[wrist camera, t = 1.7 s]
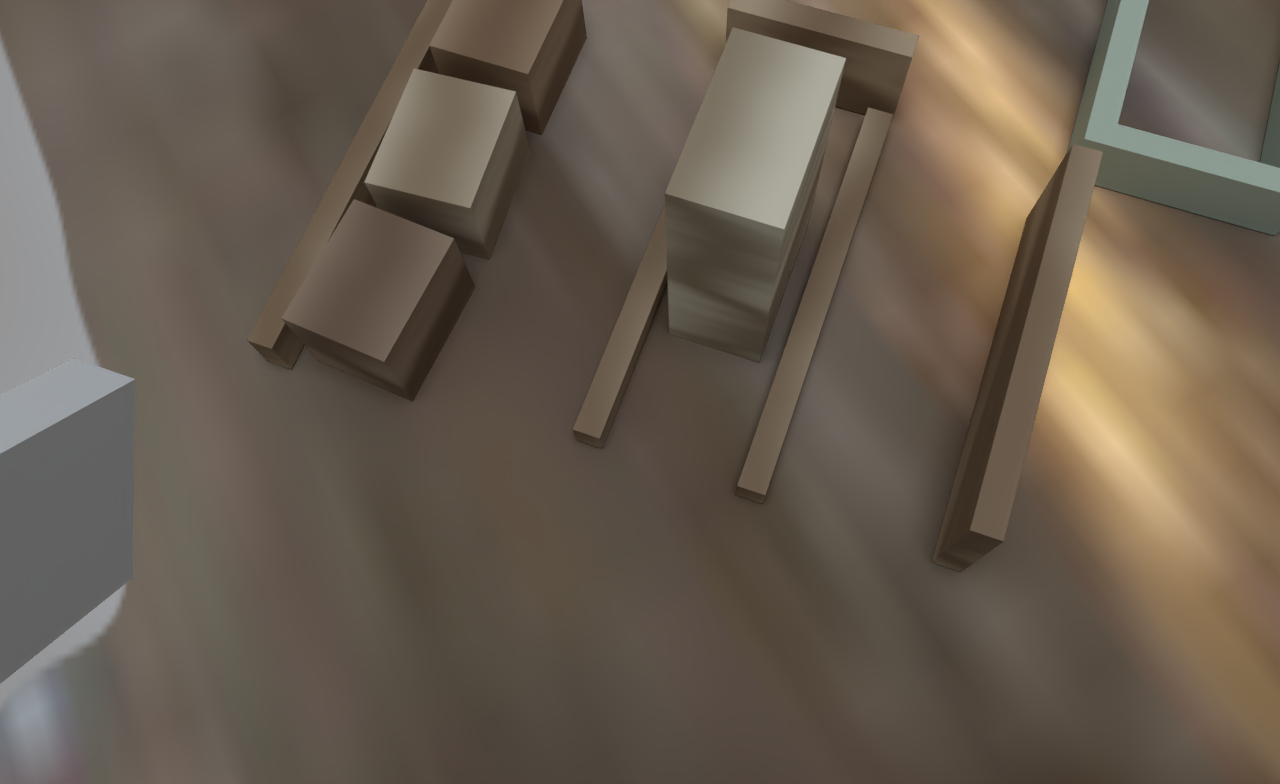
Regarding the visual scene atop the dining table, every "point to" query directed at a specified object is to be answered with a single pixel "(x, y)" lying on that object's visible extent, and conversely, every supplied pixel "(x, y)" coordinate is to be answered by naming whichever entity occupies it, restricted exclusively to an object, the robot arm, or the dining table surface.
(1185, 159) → the green frame
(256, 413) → the dining table surface
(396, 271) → the offcut block
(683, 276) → the tall beige block
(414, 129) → the offcut block
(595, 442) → the oak rack
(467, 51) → the offcut block
